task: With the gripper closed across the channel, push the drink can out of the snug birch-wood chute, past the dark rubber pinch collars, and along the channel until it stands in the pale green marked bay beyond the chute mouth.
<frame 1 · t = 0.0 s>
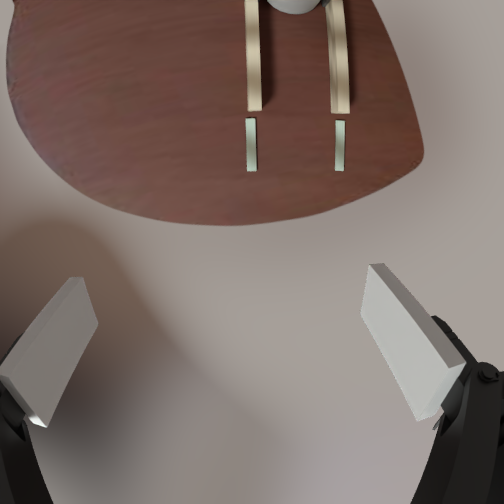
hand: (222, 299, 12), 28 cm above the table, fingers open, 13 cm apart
chute: (293, 35, 30), on the table
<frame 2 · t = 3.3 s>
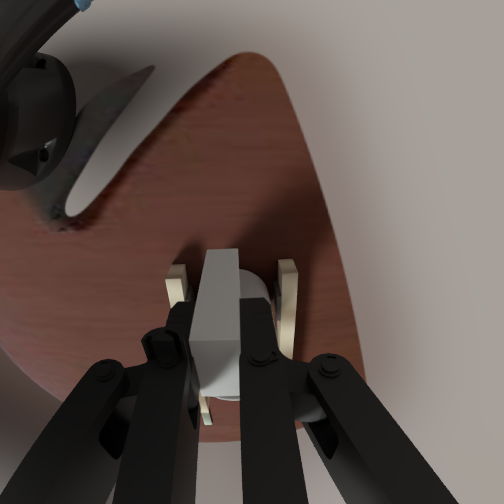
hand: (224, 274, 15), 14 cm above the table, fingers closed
chute: (237, 342, 34), on the table
can: (233, 293, 32), on the table
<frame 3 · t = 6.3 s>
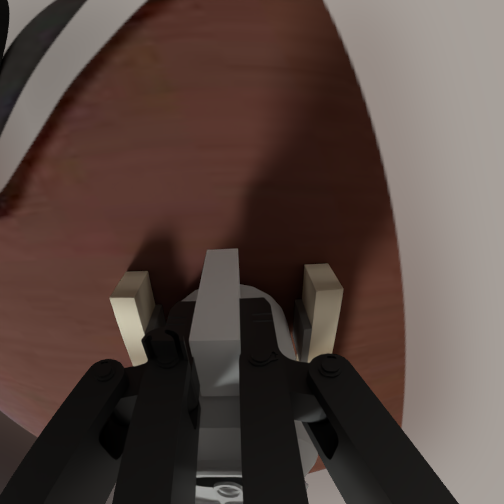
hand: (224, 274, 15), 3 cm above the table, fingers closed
chute: (235, 387, 22), on the table
can: (229, 322, 19), on the table, touching gripper
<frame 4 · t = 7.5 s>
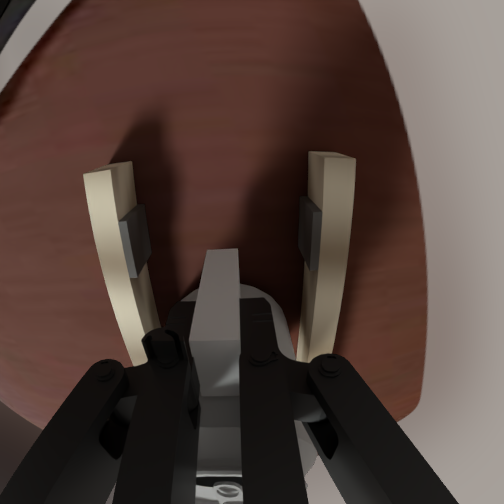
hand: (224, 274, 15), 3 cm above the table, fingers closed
chute: (229, 325, 19), on the table
can: (229, 322, 19), on the table, touching gripper
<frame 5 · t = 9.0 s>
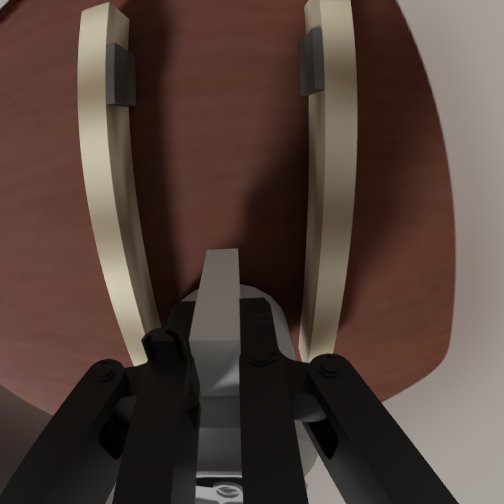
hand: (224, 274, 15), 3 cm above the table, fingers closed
chute: (220, 198, 15), on the table
can: (229, 322, 19), on the table, touching gripper
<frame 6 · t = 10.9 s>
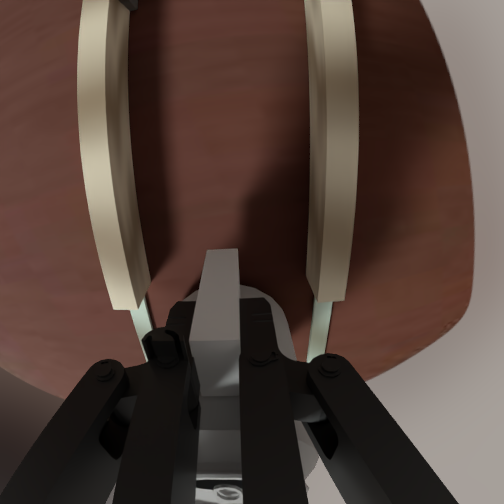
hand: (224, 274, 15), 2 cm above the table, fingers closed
chute: (216, 85, 13), on the table
can: (229, 323, 19), on the table, touching gripper
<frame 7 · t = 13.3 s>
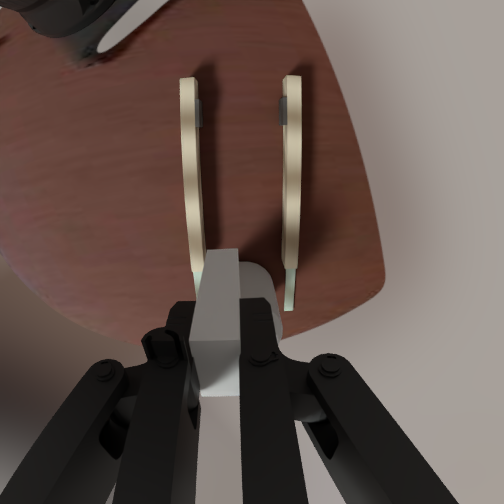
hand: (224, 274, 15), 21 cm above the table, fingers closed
chute: (241, 172, 33), on the table
can: (244, 283, 39), on the table
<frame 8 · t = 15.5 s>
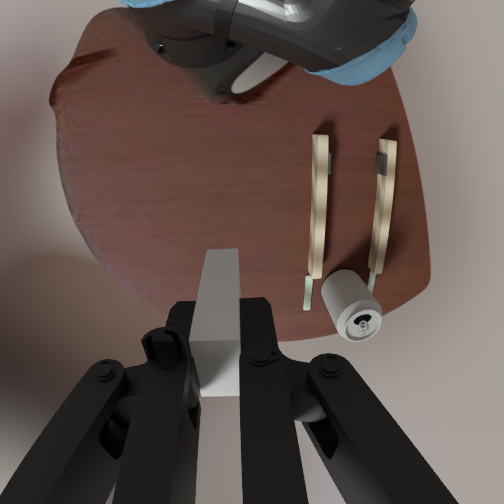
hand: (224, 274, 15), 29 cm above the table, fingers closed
chute: (349, 205, 44), on the table
can: (339, 285, 50), on the table
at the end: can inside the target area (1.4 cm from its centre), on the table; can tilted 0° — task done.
